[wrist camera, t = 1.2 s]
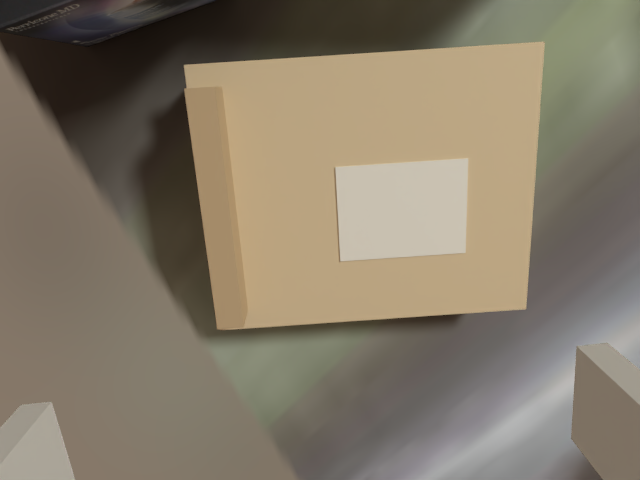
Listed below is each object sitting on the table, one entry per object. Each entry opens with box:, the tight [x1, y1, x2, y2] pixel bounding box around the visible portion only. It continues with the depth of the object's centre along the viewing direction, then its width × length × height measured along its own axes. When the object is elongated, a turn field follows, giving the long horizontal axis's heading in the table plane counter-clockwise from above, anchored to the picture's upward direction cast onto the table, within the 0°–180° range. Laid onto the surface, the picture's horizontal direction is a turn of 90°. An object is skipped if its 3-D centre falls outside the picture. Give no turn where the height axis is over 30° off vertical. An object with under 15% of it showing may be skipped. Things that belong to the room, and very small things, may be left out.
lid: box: [184, 42, 545, 330], centre depth 29 cm, size 17×20×3 cm
